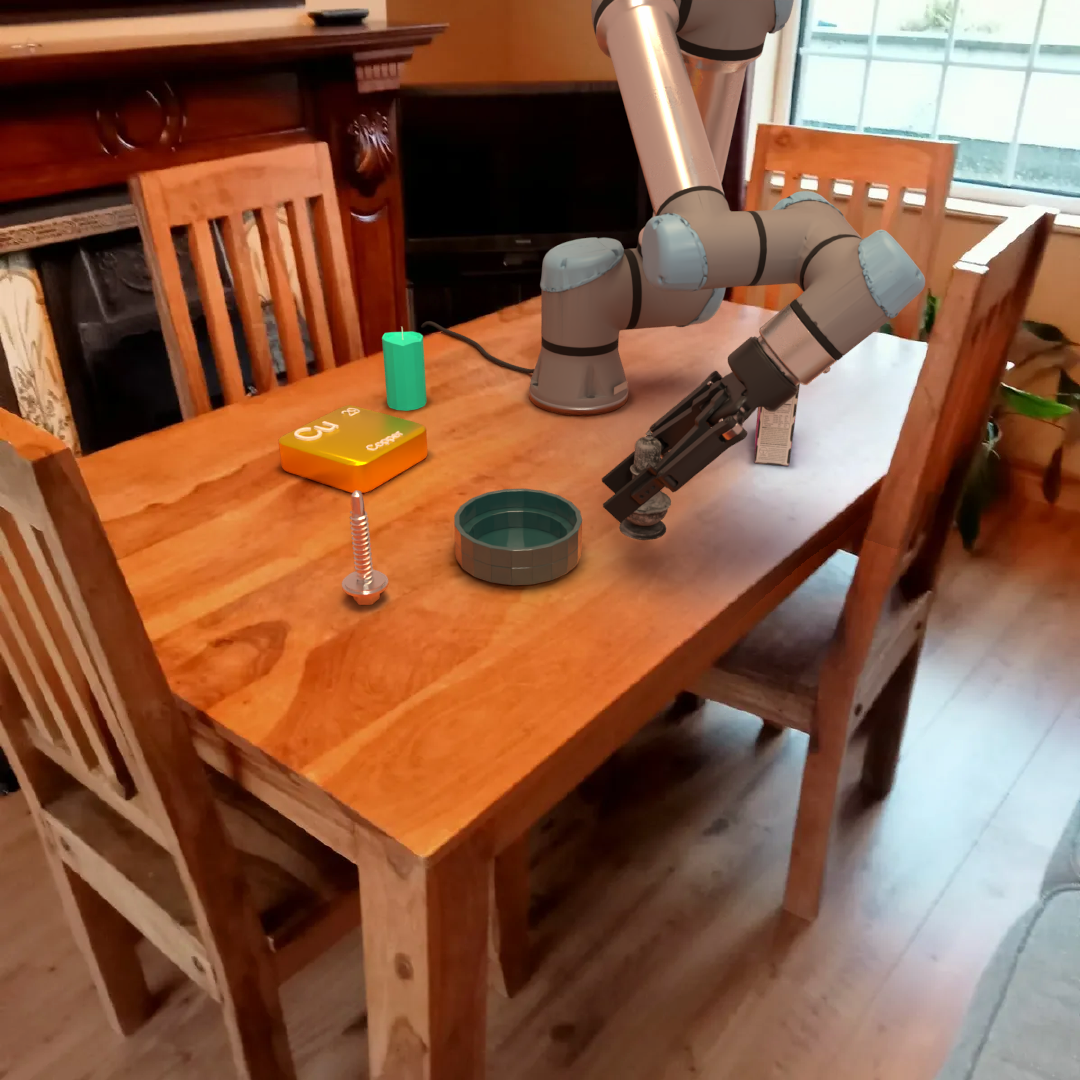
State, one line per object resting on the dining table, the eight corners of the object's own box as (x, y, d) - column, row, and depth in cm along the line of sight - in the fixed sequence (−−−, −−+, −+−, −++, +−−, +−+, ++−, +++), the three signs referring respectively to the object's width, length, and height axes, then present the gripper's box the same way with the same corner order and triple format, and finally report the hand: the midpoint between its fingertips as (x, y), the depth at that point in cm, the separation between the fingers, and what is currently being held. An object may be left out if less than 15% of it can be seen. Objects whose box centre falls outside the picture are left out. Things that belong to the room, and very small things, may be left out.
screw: (377, 581, 110) (397, 602, 107) (336, 594, 108) (354, 616, 105) (368, 475, 104) (388, 493, 100) (324, 486, 102) (343, 505, 98)
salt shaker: (634, 546, 110) (640, 446, 104) (606, 522, 114) (611, 425, 108) (679, 534, 112) (688, 435, 106) (650, 511, 117) (657, 415, 110)
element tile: (361, 497, 127) (358, 463, 125) (275, 469, 134) (270, 436, 132) (434, 454, 138) (432, 422, 136) (350, 430, 145) (347, 399, 143)
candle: (379, 407, 153) (373, 330, 147) (399, 393, 158) (393, 318, 152) (415, 413, 151) (410, 335, 145) (433, 398, 156) (429, 323, 150)
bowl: (430, 566, 113) (428, 527, 111) (501, 514, 124) (500, 478, 121) (538, 603, 107) (538, 563, 104) (602, 546, 117) (604, 508, 115)
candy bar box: (753, 431, 146) (767, 320, 137) (789, 434, 145) (804, 322, 137) (751, 464, 136) (766, 347, 128) (789, 467, 135) (806, 350, 127)
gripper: (820, 422, 96) (637, 565, 105) (785, 354, 112) (629, 483, 121) (770, 368, 94) (588, 519, 102) (742, 307, 109) (586, 442, 118)
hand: (611, 500), depth 111 cm, fingers closed on salt shaker, 5 cm apart
